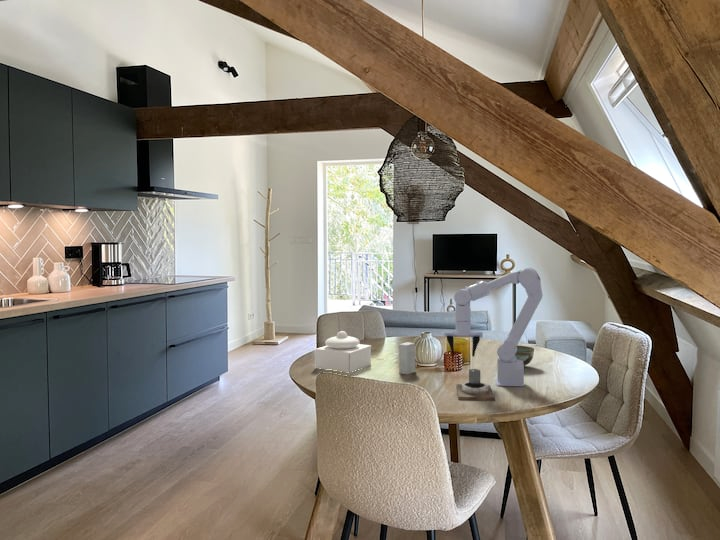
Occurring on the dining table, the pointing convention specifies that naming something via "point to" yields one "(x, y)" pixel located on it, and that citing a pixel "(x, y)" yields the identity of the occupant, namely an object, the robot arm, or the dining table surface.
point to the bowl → (524, 354)
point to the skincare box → (406, 358)
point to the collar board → (474, 392)
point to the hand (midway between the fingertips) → (463, 355)
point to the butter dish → (343, 354)
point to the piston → (474, 378)
